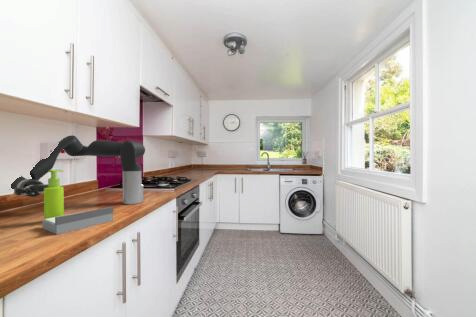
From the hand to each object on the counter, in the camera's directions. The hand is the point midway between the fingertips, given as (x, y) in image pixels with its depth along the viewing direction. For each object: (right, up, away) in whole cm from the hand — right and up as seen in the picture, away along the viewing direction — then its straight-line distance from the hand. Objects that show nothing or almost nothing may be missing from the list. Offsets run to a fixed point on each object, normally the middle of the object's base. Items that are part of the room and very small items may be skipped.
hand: (44, 190), depth 92 cm
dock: (+22, -11, -10) cm, 27 cm away
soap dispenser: (+9, -11, -6) cm, 16 cm away
